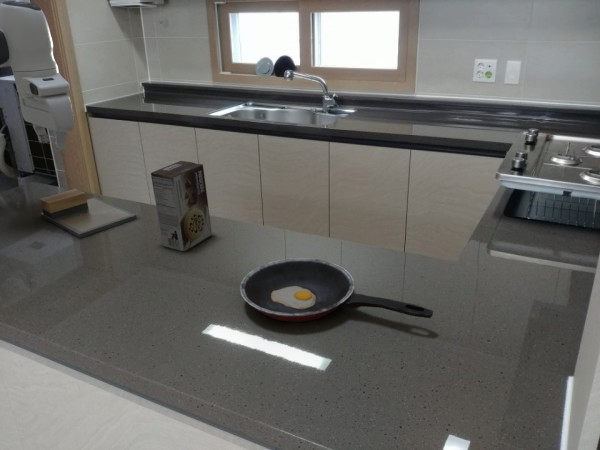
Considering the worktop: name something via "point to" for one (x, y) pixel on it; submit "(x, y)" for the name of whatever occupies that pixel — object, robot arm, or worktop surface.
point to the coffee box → (181, 204)
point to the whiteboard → (92, 218)
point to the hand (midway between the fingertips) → (52, 145)
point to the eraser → (64, 203)
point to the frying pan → (310, 291)
